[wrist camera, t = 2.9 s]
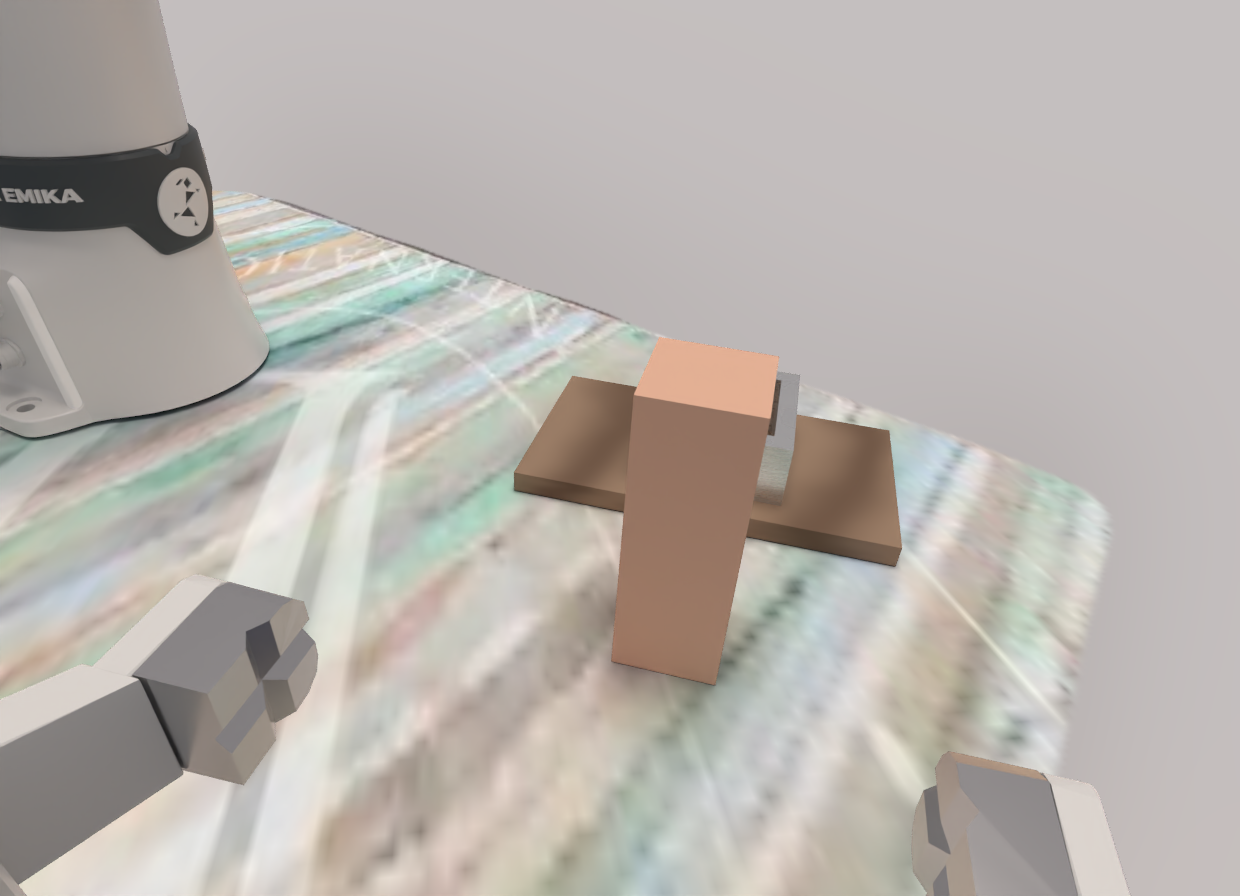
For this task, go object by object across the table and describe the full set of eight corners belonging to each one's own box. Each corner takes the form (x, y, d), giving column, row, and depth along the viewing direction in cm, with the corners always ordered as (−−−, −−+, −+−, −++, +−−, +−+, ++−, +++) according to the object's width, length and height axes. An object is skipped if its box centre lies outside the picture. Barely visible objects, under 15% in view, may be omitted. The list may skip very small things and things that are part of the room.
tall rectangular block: (611, 661, 32) (633, 394, 24) (633, 588, 35) (659, 336, 28) (715, 685, 31) (770, 418, 24) (727, 608, 35) (779, 356, 27)
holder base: (514, 490, 41) (514, 472, 40) (571, 391, 50) (572, 375, 49) (895, 566, 38) (901, 548, 37) (883, 446, 47) (889, 430, 46)
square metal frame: (630, 477, 40) (635, 422, 38) (658, 403, 47) (663, 352, 45) (780, 506, 39) (793, 450, 37) (788, 425, 46) (800, 375, 44)
